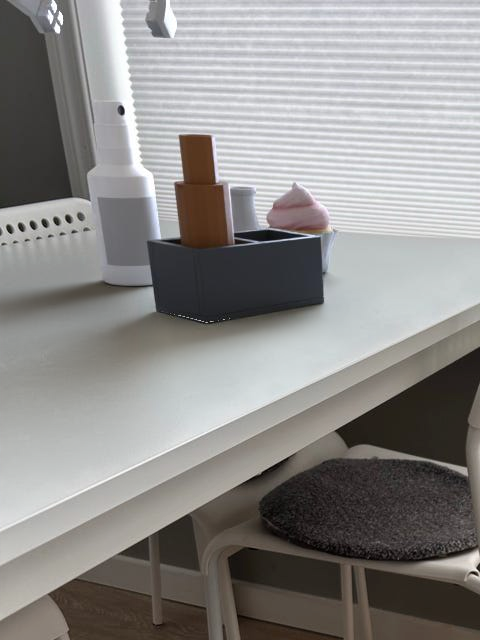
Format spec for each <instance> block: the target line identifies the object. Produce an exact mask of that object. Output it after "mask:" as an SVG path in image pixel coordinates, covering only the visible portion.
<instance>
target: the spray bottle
mask: <svg viewBox="0 0 480 640" xmlns="http://www.w3.org/2000/svg"><path fill="white" fill-rule="evenodd" d="M91 103H92V109H93V116H94V118H93V121H94V123H93V124H92V125H93V130H94V137H95V143H96V146H95V149H96V156H97V162H98V164H96V165H95V166H93V168H92V169H90V170H89V171H87V173H86V180H87V186H88V187H87V188H88V193H89V199H90V206H91V212H92V218H93V225H94V231H95V237H96V243H97V250H98V255H99V256H98V257H99V262H100V269H101V273H102V274H101V275H102V279H103V281H104V282H105V283H107V284H109V285H112V286H119V287H120V286H121V287H142V286H143V287H144V286H153V284H152V277H151V269H150V262H149V254H148V247H147V240H156V239H162V237H161V229H160V221H159V214H158V206H157V197H156V189H155V181H154V175H153V173H151V171H149V170H148V169H146V168H145V167H143V166H142V165H140V164H139V160H138V153H137V148H136V144H135V137H134V130H133V129H134V128H133V124H131V119H130V117H129V109H128V102H127V101H126V100H118V99H117V100H114V99H110V100H104V99H103V100H102V99H101V100H100V99H92V101H91Z"/></svg>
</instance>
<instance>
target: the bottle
mask: <svg viewBox="0 0 480 640" xmlns="http://www.w3.org/2000/svg"><path fill="white" fill-rule="evenodd" d="M178 142H179V152H180V158H181V169H182V178H183V179H182V180H179V181H175V182H173V186H174V187H173V188H174V195H175V205H176V211H177V220H178V228H179V237H180V238H181V245H183V246H188V247H193V248H199V249H203V248H212V247H221V246H229V245H235V241H234V230H233V219H232V208H231V197H230V187H231V186H230V183H229V182H228V181H220V174H219V173H220V172H219V163H218V153H217V142H216V136H215V135H213V134H202V133H201V134H199V133H182V134H181V133H180V134H178Z"/></svg>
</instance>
